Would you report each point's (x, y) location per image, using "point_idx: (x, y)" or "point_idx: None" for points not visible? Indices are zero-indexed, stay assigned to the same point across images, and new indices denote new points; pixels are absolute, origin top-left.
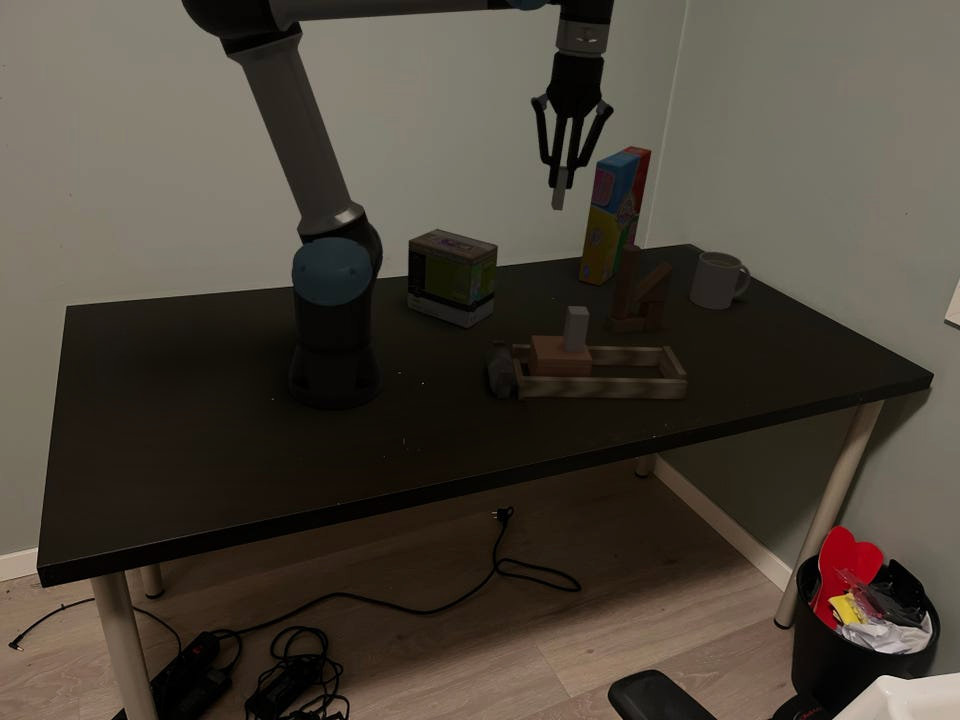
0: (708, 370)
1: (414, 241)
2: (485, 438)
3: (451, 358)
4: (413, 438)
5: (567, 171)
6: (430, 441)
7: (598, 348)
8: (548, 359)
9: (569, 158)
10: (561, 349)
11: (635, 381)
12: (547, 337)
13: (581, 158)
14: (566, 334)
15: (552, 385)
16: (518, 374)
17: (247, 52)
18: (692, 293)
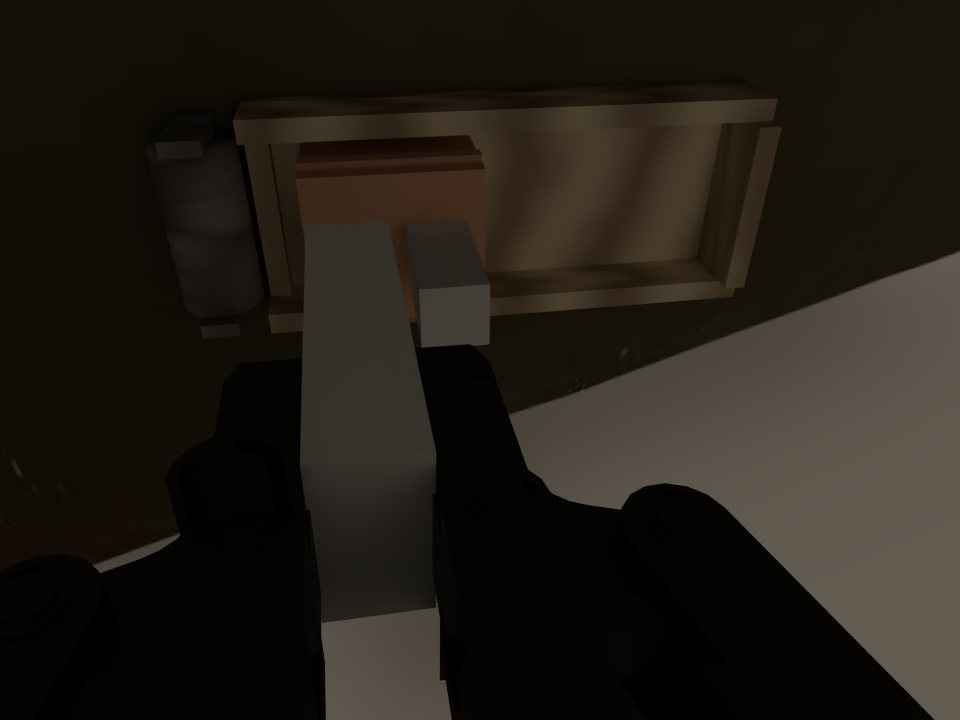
0: (874, 90)
1: None
2: (204, 439)
3: (15, 75)
4: (35, 458)
5: (424, 601)
6: (79, 462)
7: (544, 124)
8: None
9: (455, 716)
10: (397, 263)
11: (595, 303)
12: (355, 188)
13: (630, 693)
14: (412, 281)
15: None
16: (268, 229)
17: None
18: None
